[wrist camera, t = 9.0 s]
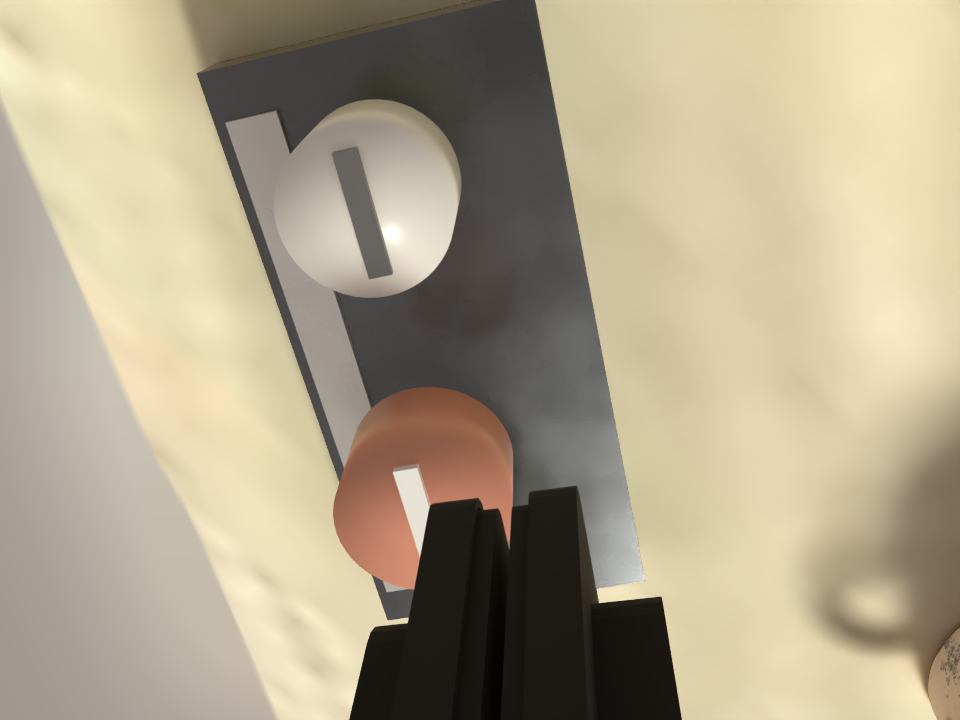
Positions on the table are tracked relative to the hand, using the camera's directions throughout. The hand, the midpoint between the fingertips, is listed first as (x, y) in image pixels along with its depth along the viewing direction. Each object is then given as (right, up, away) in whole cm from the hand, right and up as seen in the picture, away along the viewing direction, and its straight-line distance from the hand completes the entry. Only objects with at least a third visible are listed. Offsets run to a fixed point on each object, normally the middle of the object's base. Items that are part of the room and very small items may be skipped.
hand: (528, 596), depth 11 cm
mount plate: (-1, +4, +22) cm, 22 cm away
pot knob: (-2, +1, +17) cm, 17 cm away
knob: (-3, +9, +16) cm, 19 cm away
